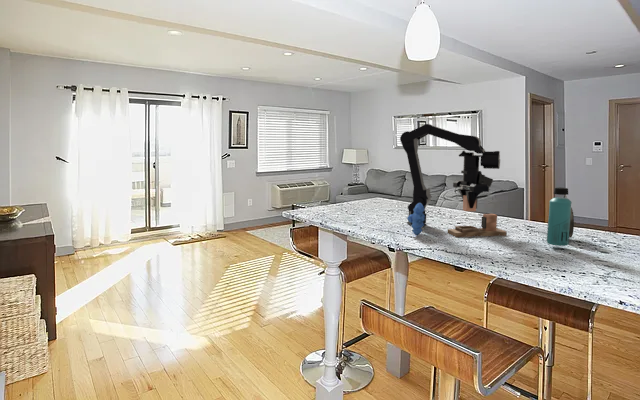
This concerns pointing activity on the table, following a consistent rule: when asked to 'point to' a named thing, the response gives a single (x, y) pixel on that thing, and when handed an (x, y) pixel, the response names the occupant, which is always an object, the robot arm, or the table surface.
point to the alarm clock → (571, 221)
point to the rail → (487, 228)
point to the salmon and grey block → (466, 204)
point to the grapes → (417, 219)
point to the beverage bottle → (559, 219)
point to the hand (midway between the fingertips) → (469, 207)
